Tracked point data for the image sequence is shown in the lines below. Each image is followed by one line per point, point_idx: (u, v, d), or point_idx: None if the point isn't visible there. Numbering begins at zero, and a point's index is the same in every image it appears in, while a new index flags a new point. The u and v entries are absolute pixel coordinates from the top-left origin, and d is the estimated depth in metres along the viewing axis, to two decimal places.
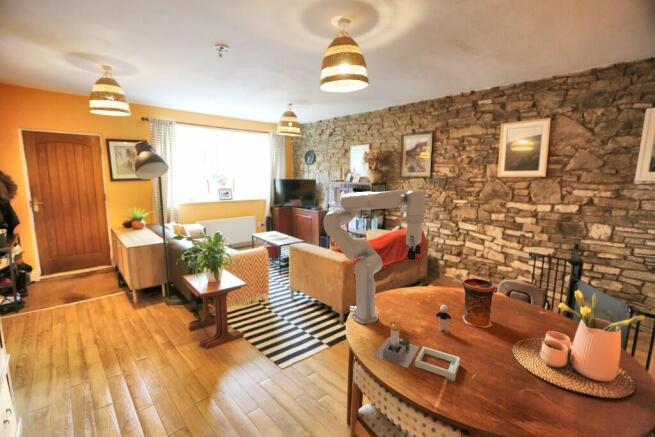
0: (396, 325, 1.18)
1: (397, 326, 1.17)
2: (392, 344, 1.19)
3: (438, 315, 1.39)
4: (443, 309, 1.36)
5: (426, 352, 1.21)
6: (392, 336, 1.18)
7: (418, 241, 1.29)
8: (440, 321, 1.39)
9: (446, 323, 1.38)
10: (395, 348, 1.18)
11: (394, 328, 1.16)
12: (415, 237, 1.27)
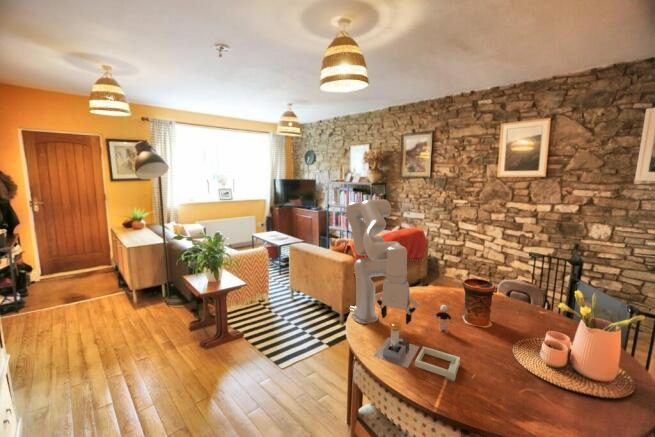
0: (396, 325, 1.18)
1: (397, 326, 1.17)
2: (392, 344, 1.19)
3: (438, 315, 1.39)
4: (443, 309, 1.36)
5: (426, 352, 1.21)
6: (392, 336, 1.18)
7: None
8: (440, 321, 1.39)
9: (446, 323, 1.38)
10: (395, 348, 1.18)
11: (394, 328, 1.16)
12: (409, 296, 1.15)
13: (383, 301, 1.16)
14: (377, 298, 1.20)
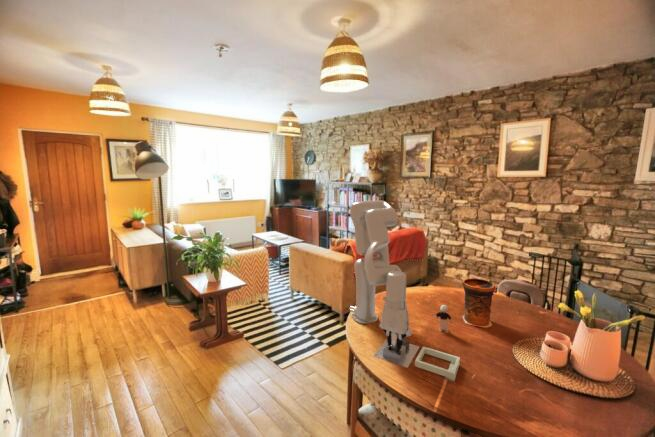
0: None
1: None
2: (392, 344, 1.19)
3: (438, 315, 1.39)
4: (443, 309, 1.36)
5: (426, 352, 1.21)
6: (392, 336, 1.18)
7: None
8: (440, 321, 1.39)
9: (446, 323, 1.38)
10: (395, 348, 1.18)
11: None
12: (408, 321, 1.17)
13: (382, 325, 1.18)
14: (382, 327, 1.21)
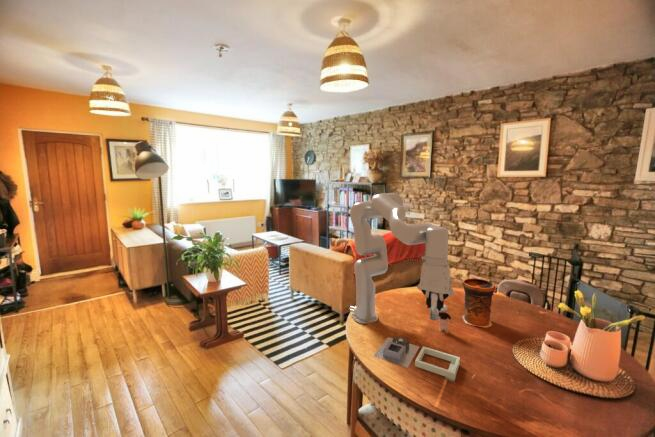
0: None
1: None
2: (432, 306, 1.10)
3: None
4: (443, 309, 1.36)
5: (426, 352, 1.21)
6: (432, 297, 1.09)
7: None
8: (440, 321, 1.39)
9: (446, 323, 1.38)
10: (436, 311, 1.10)
11: None
12: (450, 280, 1.08)
13: (421, 285, 1.10)
14: (420, 288, 1.13)
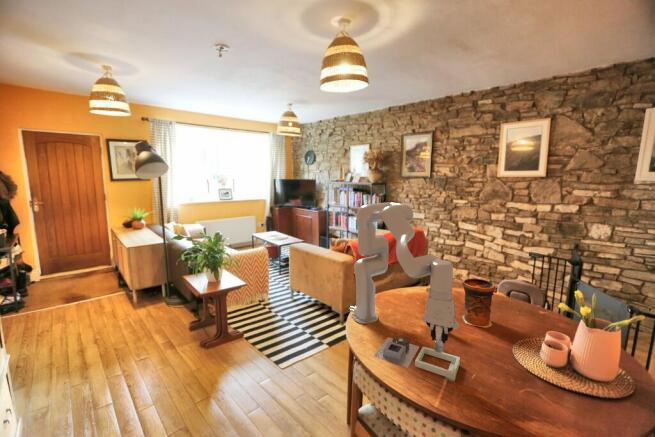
0: None
1: None
2: (437, 338, 1.11)
3: None
4: None
5: (426, 352, 1.21)
6: (437, 330, 1.11)
7: None
8: None
9: None
10: (440, 343, 1.11)
11: None
12: None
13: (426, 318, 1.11)
14: (425, 320, 1.14)
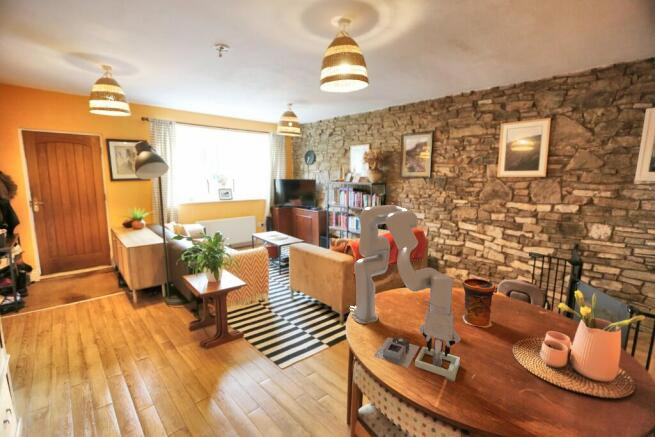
0: None
1: None
2: (436, 353, 1.12)
3: None
4: None
5: (426, 352, 1.21)
6: (436, 345, 1.12)
7: None
8: None
9: None
10: (439, 358, 1.12)
11: None
12: None
13: (425, 331, 1.12)
14: (421, 331, 1.15)
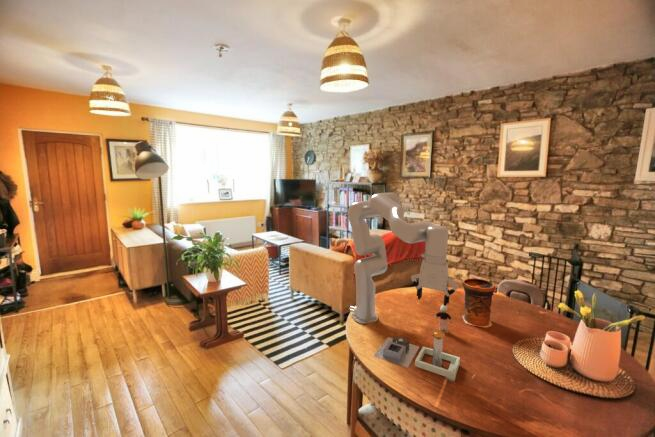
0: (440, 333, 1.12)
1: (441, 334, 1.11)
2: (435, 353, 1.13)
3: (438, 315, 1.39)
4: (443, 309, 1.36)
5: (426, 352, 1.21)
6: (435, 345, 1.12)
7: None
8: (440, 321, 1.39)
9: (446, 323, 1.38)
10: (439, 358, 1.12)
11: (438, 336, 1.10)
12: (448, 278, 1.11)
13: (420, 282, 1.13)
14: (413, 279, 1.17)
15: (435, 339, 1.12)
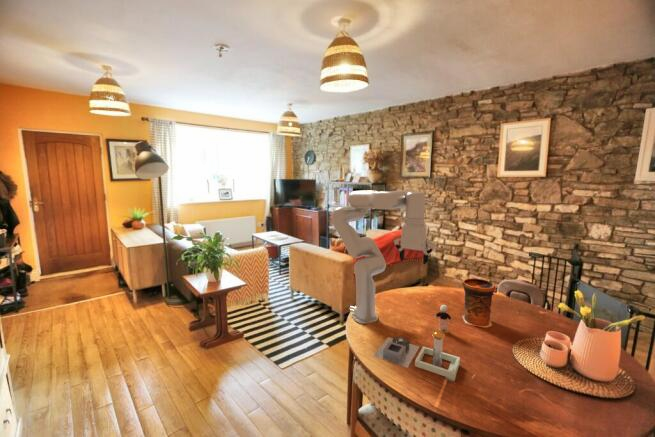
0: (440, 333, 1.11)
1: (441, 335, 1.11)
2: (435, 353, 1.12)
3: (438, 315, 1.39)
4: (443, 309, 1.36)
5: (426, 352, 1.21)
6: (435, 345, 1.12)
7: None
8: (440, 321, 1.39)
9: (446, 323, 1.38)
10: (439, 358, 1.12)
11: (438, 337, 1.10)
12: None
13: (402, 244, 1.25)
14: (396, 242, 1.28)
15: (435, 339, 1.12)
